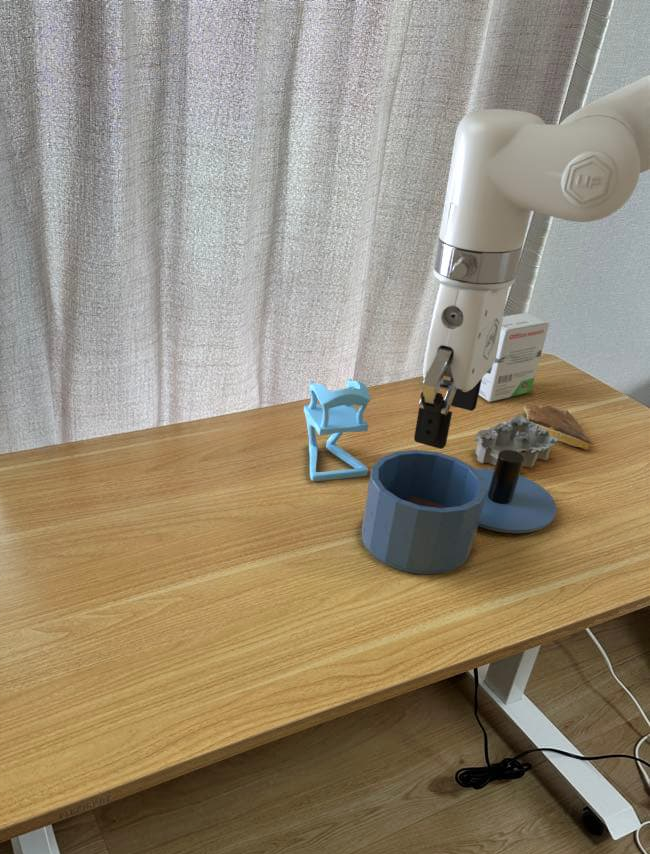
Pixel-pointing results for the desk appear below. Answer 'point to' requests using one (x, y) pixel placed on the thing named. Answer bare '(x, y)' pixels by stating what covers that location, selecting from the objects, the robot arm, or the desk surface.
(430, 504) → the block
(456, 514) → the tin
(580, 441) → the shard
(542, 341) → the ink box
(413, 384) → the desk surface
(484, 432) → the egg carton
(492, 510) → the tin lid
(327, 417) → the chair
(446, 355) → the robot arm
